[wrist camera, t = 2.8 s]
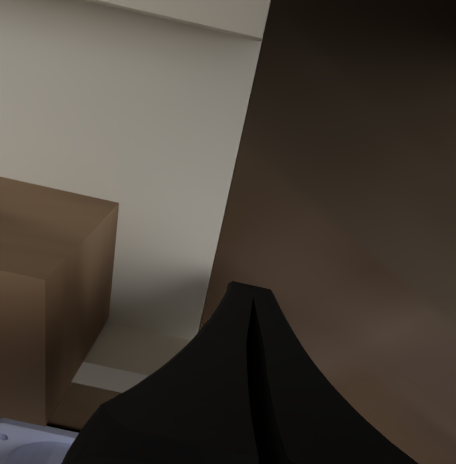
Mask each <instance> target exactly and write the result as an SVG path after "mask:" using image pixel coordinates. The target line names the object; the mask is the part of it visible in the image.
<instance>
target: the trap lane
mask: <svg viewBox="0 0 456 464" xmlns="http://www.w3.org/2000/svg"><path fill="white" fill-rule="evenodd" d="M270 2H271V0H0V177H5V178H9V179H14V180H18V181H23V182H27V183H32V184H36V185H41V186H45V187H50V188H54V189H59V190H63V191H68V192H72V193H77V194H81V195H86V196H90V197H95V198H99V199H104V200H108V201H113V202H117V203H119V210H118V221H117V232H116V243H115V255H114V266H113V277H112V288H111V300H110V311H109V318H108V319H107V321H106V323H105V325H104V326H103V328H102V330H101V332H100V333H99V335H98V337H97V338H96V340H95V342H94V344H93V345H92V347H91V349H90V351H89V352H88V354H87V356H86V357H85V359H84V361H83V363H82V364H81V366H80V368H79V370H78V371H77V373H76V375H75V376H74V378H73V380H72V382H74V383H78V384H83V385H88V386H93V387H97V388H102V389H107V390H111V391H116V392H121V393H123V392H125V391H126V390H128V389H130V388H132V387H133V386H135V385H136V384H138V383H139V382H141V381H142V380H144V379H145V378H146V377H148V376H149V375H151V374H152V373H154V372H155V371H157V370H158V369H159V368H161V367H162V366H163V365H164V364H166V363H167V362H168V361H169V360H170V359H172V358H173V357H174V356H175V355H176V354H177V353H178V352H180V351H181V350H182V349H183V348H184V347H185V346H186V345H187V344H188V343H189V342H190V341H191V340H192V339H193V338H194V337H195V336H196V334H197V333H198V330H199V325H200V321H201V316H202V312H203V307H204V302H205V298H206V293H207V289H208V284H209V280H210V275H211V271H212V266H213V262H214V257H215V252H216V248H217V243H218V239H219V234H220V230H221V225H222V221H223V216H224V212H225V207H226V202H227V198H228V193H229V189H230V184H231V180H232V175H233V171H234V166H235V161H236V157H237V152H238V148H239V143H240V139H241V134H242V130H243V125H244V121H245V116H246V111H247V107H248V102H249V98H250V93H251V89H252V84H253V80H254V75H255V71H256V66H257V61H258V57H259V52H260V48H261V43H262V39H263V34H264V30H265V25H266V21H267V16H268V11H269V7H270Z"/></svg>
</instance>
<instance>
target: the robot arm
mask: <svg viewBox="0 0 456 464" xmlns="http://www.w3.org/2000/svg"><path fill="white" fill-rule="evenodd" d="M0 464H418V463H417V462H415V461H414V460H413V459H412V458H410V457H409V456H408V455H407V454H405V453H404V452H403V451H401V450H400V449H399V448H398V447H396V446H395V445H394V444H392V443H391V442H390V441H389V440H388V439H387V438H385V437H384V436H383V435H382V434H381V433H380V432H379V431H378V430H376V429H375V428H374V427H373V426H372V425H371V424H370V423H369V422H367V421H366V420H365V419H364V418H363V417H362V416H361V415H360V414H359V413H358V412H357V411H356V410H355V409H354V408H353V407H352V406H351V405H350V404H349V403H348V402H347V401H346V400H345V399H344V398H343V397H342V396H341V395H340V393H339V392H338V391H337V390H336V389H335V388H334V387H333V386H332V385H331V383H330V382H329V381H328V380H327V379H326V377H325V376H324V375H323V374H322V372H321V371H320V370H319V369H318V368H317V366H316V365H315V364H314V362H313V361H312V360H311V358H310V357H309V356H308V354H307V353H306V351H305V350H304V348H303V347H302V345H301V344H300V342H299V340H298V339H297V337H296V335H295V334H294V332H293V330H292V329H291V327H290V325H289V323H288V322H287V320H286V318H285V316H284V314H283V312H282V310H281V308H280V306H279V304H278V302H277V300H276V298H275V296H274V294H273V292H272V291H271V290H270V289H266V288H261V287H257V286H252V285H248V284H243V283H239V282H234V281H232V282H230V283H228V287H227V291H226V293H225V295H224V297H223V299H222V301H221V303H220V304H219V306H218V307H217V309H216V310H215V312H214V313H213V315H212V316H211V317H210V319H209V320H208V321H207V323H206V324H205V325H204V326H203V327H202V329H201V330H200V331H199V332H198V333H197V334H196V336H195V337H194V338H193V339H192V340H191V341H190V342H189V343H188V344H187V345H186V346H185V347H184V348H183V349H182V350H181V351H180V352H178V353H177V354H176V355H175V356H174V357H173V358H172V359H170V360H169V361H168V362H167V363H166V364H164V365H163V366H162V367H161V368H159V369H158V370H157V371H155V372H154V373H152V374H151V375H149V376H148V377H146V378H145V379H144V380H142V381H141V382H139V383H138V384H136V385H135V386H133V387H132V388H130V389H128V390H126V391H125V392H123V393H121V394H119V395H118V396H116V397H114V398H112V399H110V400H109V401H107V402H105V403H103V404H101V405H100V407H99V408H98V409H97V410H96V411H95V413H94V414H93V415H92V416H91V418H90V419H89V420H88V421H87V423H86V424H85V426H84V427H83V428H82V430H81V431H80V432H79V433H78V432H73V431H68V430H64V429H59V428H54V427H49V426H46V427H45V426H40V425H35V424H30V423H26V422H21V421H16V420H11V419H7V418H0Z"/></svg>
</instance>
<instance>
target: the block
mask: <svg viewBox="0 0 456 464" xmlns="http://www.w3.org/2000/svg"><path fill="white" fill-rule="evenodd" d="M118 210H119V203H117V202H113V201H108V200H104V199H99V198H95V197H90V196H86V195H81V194H77V193H72V192H68V191H63V190H59V189H54V188H50V187H45V186H41V185H36V184H32V183H27V182H23V181H18V180H14V179H9V178H5V177H0V417H2V418H7V419H11V420H16V421H21V422H26V423H30V424H35V425H40V426H45V427H46V425H47V423H48V421H49V420H50V418H51V416H52V415H53V413H54V411H55V409H56V408H57V406H58V404H59V402H60V401H61V399H62V397H63V396H64V394H65V392H66V390H67V389H68V387H69V385H70V383H71V382H72V380H73V378H74V376H75V375H76V373H77V371H78V370H79V368H80V366H81V364H82V363H83V361H84V359H85V357H86V356H87V354H88V352H89V351H90V349H91V347H92V345H93V344H94V342H95V340H96V338H97V337H98V335H99V333H100V332H101V330H102V328H103V326H104V325H105V323H106V321H107V319H108V318H109V311H110V300H111V288H112V277H113V266H114V255H115V243H116V232H117V221H118Z"/></svg>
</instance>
